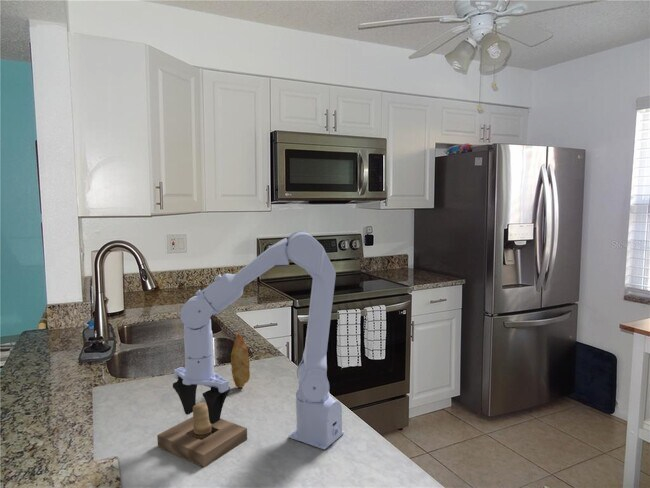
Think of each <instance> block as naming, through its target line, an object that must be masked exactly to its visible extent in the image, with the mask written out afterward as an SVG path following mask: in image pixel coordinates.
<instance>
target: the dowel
mask: <svg viewBox="0 0 650 488" xmlns="http://www.w3.org/2000/svg"><path fill="white" fill-rule="evenodd" d="M192 417H193V424H194V437H195V438H197V439H200V440H203V439H205V438H206V437H208V436H210V435H211V434H212V428H211V423H210V421H209V414H208V407H207V404H206V402H199V403H196V405H194V406H193V412H192Z"/></svg>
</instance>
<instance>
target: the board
mask: <svg viewBox="0 0 650 488" xmlns="http://www.w3.org/2000/svg"><path fill="white" fill-rule="evenodd" d="M211 428H212V434H211V435H210V436H208V437H206V438H205V439H203V440H200V439H197V438H195V437H194V424H193V416H192V417H189V418H187V419H186V420H184V421H182V422H180V423H178V424H175V425H174V426H172V427H170V428H168V429H166V430H164V431H162V432H160V433H158V434H157V439H156V440H157V447H159V448H160V449H162V450H165V451H168V452H169V453H171V454H174V455H176V456H178V457H180V458H182V459H185V460H187V461H189V462H191V463H193V464H196V465H197V466H199V467H203V468H205V467H207V466H208V465H210V464H212V463H213V462H214V461H217V460H218V459H219V458H221V457H222V456H224V455H226V454H227V453H228V452H230V451H231V450H234V449H235V448H236V447H238V446H240V445H241V444H242V443H244V442H246V441H247V440H248V428H247V427H245V426H242V425H239V424H237V423H234V422H231V421H228V420H225V419H223V418H220V420H219V421H218V422H216V423H214V424H211Z"/></svg>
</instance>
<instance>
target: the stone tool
mask: <svg viewBox="0 0 650 488" xmlns="http://www.w3.org/2000/svg"><path fill="white" fill-rule="evenodd" d="M230 365H231V375H232V380H233V382H234V384H235V387H236V388H244V386H245V385H246V383H248V382H249V380H250V376H251V375H250V356H249V353H248V347H247V346H246V343H245V340H244V338H243V337H242V335H241V333H240V332H239V333H237V336H236V337H235V340H234V343H233V347H232V350H231V353H230Z"/></svg>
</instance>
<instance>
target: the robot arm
mask: <svg viewBox="0 0 650 488" xmlns="http://www.w3.org/2000/svg"><path fill="white" fill-rule="evenodd" d="M289 260H290V261H291V262H292V263H294V264H295V265H297V266H299V267H300V268H303V269H304V270H305V271H306V272H307V274H308V275H309V277H311V278H312V281H311V282H312V283H311V289H310V290H311V291H310V298H309V299H310V301H309V306H308V307H309V308H308V309H309V310H308V318H307V325H306V327H307V328H306V337H305V345H304V349H303V352H302V358H301V361H300V363H299V364H298V366H297V368H296V376H297V378H298V389H297V391H296V392H295V405H296V407H295V408H296V429H294V430H293V431H292V432H291V433H289V434H288V438H290V439H293V440H296V441H299V442H302V443H304V444H307V445H308V446H309V445H310V446H313V447H315V448H319V449H321V450H326V449H327V448H329V447H330V445H332V444H333V443H334V442H335V441H337V440H338V439H339V438H340V437H341V436H342V435H344V434H345V431H344V430H343V417H342V416H343V415H342V414H343V412H342V411H343V409H342V408H343V407H342V405H341V402H340V401H338V400H337V399H335V398H333V397H332V396H331V395H330V382H329V380H328V376H327V375H328V374H327V371H328V364H327V363H328V362H327V361H328V360H327V352H328V343H329V337H330V336H329V335H330V328H331V327H330V326H331V319H332V309H333V302H334V294H335V293H334V292H335V284H336V277H337V276H336V275H337V273H336V271H337V270H336V269H335V267H334V265H333V264H332V262H331V260H330V258H329V255H328V254H327V252H326V250H325V248H324V246H323V245H322V243H320V242H319V241H318V240H317V239H316V238H315V237H313V235H311V234H310V233H309V232H307V231H303V230H298V231H294V232H293V233H291V234H290V235H289V236H288V237H285V238H282V239H281V240H279V241H277V242H276V243H273V244H272V245H271V246H269V247H268V248H266V249H265V251H263V252H262V253H260V254H259V255H257V257H255V258H254V259H253V260H251V261H250V262H249V263H248V264H247V265H245V266H244V267H243V268H241V269H240V270H238V272H236V273H223V275H221V274H220V273H219V274H218V275H216V276H215V277H214V281H213V282H212V283H210V284H209V285H207V286H206V287H205V288H203V289H202V290H201V289H198V290H197V291H196V292H195V295H194V296H192V297H189V299H188V300H187V301H186V302H185V303H184V304H183V306H182V307H181V309H180V314H179V315H180V320H181V322H182V324H183V331H184V333H183V344H184V347H183V349H184V361H185V362H184V365H185V367H182V366H180V367H178V368H175V369H173V377H174V379H176V380H177V381H175V382H173V383H172V388H173V390H175V392H176V394H177V396H178V397H179V399H180V403H181V405H182V408H183V411H184V414H185V415H190V414H193V406H194V405H196V404H197V402H196V401H197V398H196V397H197V388H198V386H204V387H208V388H210V390H209V389H208V390H206V391H205V392H203V393H202V397H203V399H204V401H205V403H206V404H207V407H208V414H209V421H210V423H211V424H214V423H216V422H218V421H219V420H220V419H221V415H222V409H223V406H224V403H225V401H226V399H227V397H228V394H229V392H230V391H231V388H230V383H229V382H230V381H229V379H226V378H223V376H221V375H220V374H218V373H217V372H215V358H214V354H215V353H214V338H213V337H214V336H213V330H212V319H211V317H212V315H217V314H219V313H221V312H222V311H223V310H224V309H226V308H227V307H228V306H230V305H231V304H233V303H234V302H236V301H237V300H238V299H240V298H241V297H242V296H243V294H244V289H245V287H246V286H248V284H249V283H251V282H253V281H254V280H255V279H257V278H258V277H260V276H262V275H263V274H264V273H267V271H269V270H270V269H271V268H274V267H275V266H289V265H290V262H289Z"/></svg>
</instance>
